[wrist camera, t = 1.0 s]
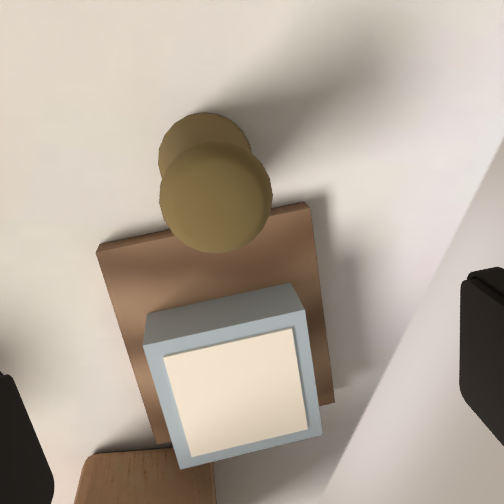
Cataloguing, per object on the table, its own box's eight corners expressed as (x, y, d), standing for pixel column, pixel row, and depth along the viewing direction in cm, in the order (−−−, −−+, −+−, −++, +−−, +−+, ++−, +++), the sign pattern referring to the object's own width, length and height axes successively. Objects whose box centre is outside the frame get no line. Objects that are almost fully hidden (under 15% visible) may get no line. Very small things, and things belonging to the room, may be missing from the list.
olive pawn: (270, 147, 31) (315, 186, 21) (219, 223, 32) (238, 294, 22) (190, 92, 29) (196, 106, 19) (140, 175, 30) (120, 230, 20)
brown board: (99, 244, 32) (95, 252, 30) (304, 201, 33) (309, 208, 31) (157, 430, 38) (157, 444, 36) (329, 390, 39) (334, 402, 37)
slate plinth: (146, 313, 32) (142, 347, 28) (290, 282, 33) (305, 311, 29) (180, 428, 36) (180, 471, 32) (308, 398, 37) (323, 437, 33)
